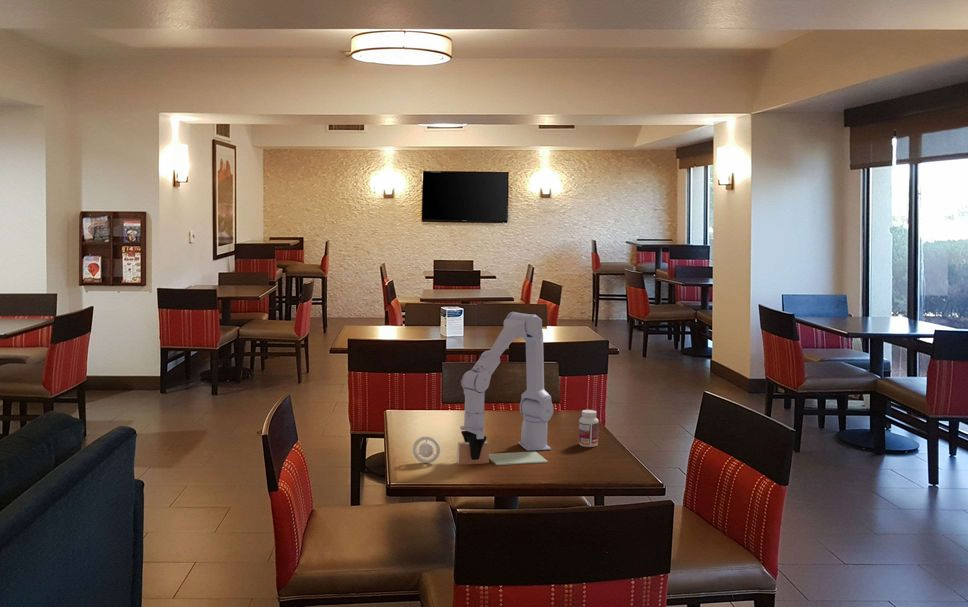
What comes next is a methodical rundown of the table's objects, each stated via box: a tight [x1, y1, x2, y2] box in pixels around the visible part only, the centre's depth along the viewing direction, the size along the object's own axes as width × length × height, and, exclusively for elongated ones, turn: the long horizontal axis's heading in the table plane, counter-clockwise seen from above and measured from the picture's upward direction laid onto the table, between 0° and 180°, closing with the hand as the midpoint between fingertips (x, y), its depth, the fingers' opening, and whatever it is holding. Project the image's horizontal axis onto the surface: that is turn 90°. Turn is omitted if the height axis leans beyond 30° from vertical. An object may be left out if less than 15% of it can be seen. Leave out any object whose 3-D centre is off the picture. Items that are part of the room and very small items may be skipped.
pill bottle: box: [578, 409, 600, 448], centre depth 288 cm, size 6×6×11 cm
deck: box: [456, 440, 490, 466], centre depth 264 cm, size 2×9×6 cm, turn 106°
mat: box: [489, 451, 549, 466], centre depth 270 cm, size 11×16×1 cm
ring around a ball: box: [412, 436, 441, 464], centre depth 261 cm, size 8×6×8 cm
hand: (473, 457), depth 264 cm, fingers open, 4 cm apart
